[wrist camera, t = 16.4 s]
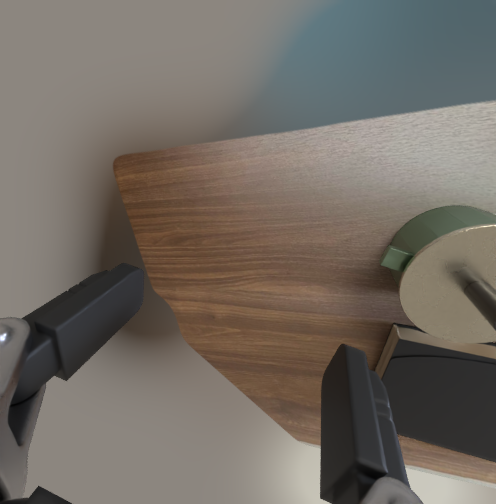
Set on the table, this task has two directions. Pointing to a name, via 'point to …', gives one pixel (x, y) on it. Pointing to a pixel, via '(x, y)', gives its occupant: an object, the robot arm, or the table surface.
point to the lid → (454, 286)
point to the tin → (429, 233)
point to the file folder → (441, 390)
